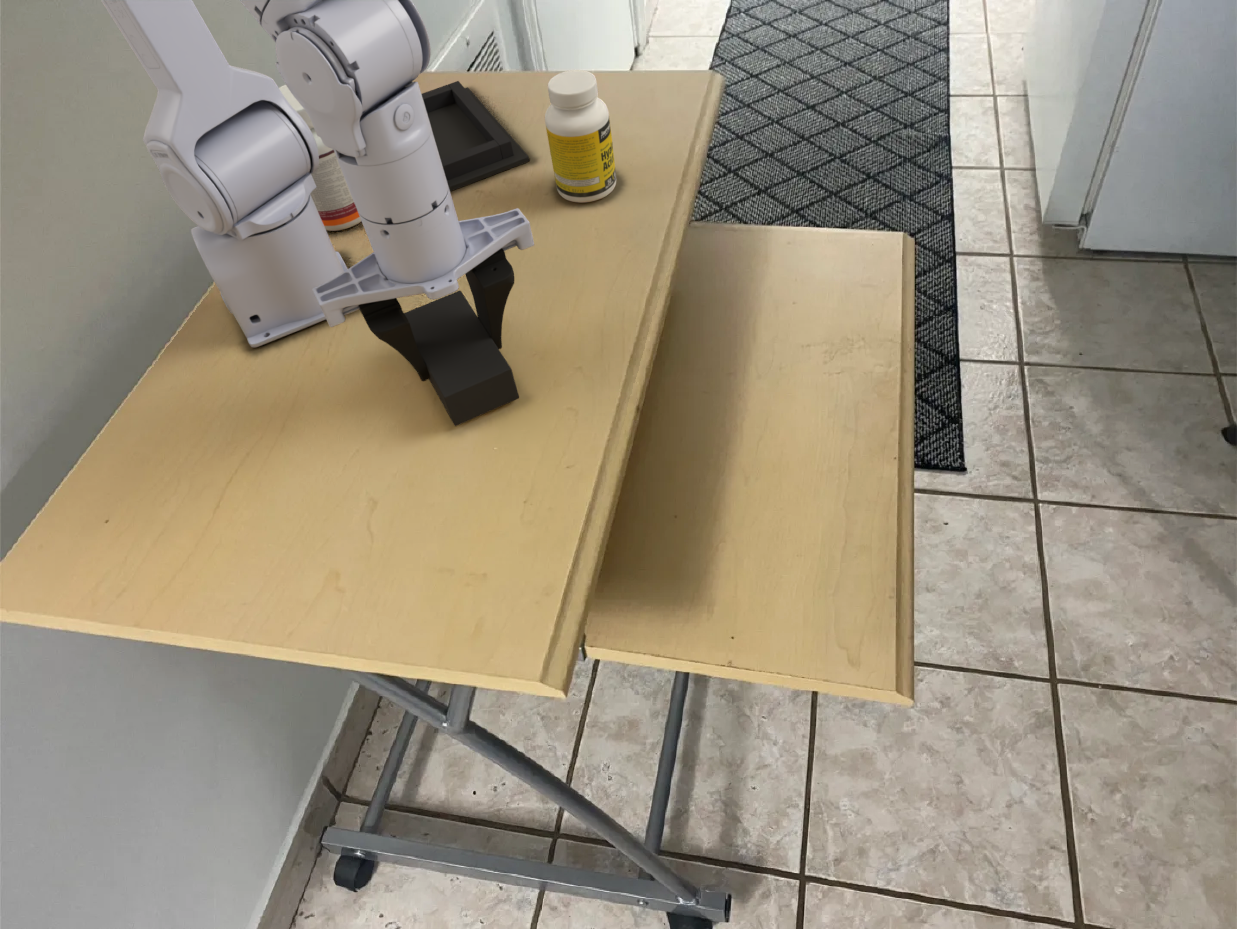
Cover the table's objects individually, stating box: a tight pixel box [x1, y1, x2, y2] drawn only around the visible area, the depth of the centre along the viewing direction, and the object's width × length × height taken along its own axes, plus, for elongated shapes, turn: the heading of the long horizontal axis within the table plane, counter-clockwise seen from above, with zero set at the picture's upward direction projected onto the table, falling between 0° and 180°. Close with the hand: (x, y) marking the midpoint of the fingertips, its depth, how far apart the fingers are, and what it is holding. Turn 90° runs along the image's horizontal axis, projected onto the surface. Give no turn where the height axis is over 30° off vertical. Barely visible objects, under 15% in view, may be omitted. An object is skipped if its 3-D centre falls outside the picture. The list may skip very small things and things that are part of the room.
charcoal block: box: [404, 290, 520, 427], centre depth 66 cm, size 10×5×3 cm, turn 27°
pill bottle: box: [278, 84, 362, 232], centre depth 78 cm, size 6×6×11 cm
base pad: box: [421, 80, 531, 192], centre depth 87 cm, size 16×11×2 cm
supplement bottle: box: [544, 69, 617, 204], centre depth 77 cm, size 5×5×10 cm
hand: (457, 356), depth 66 cm, fingers closed on charcoal block, 5 cm apart
